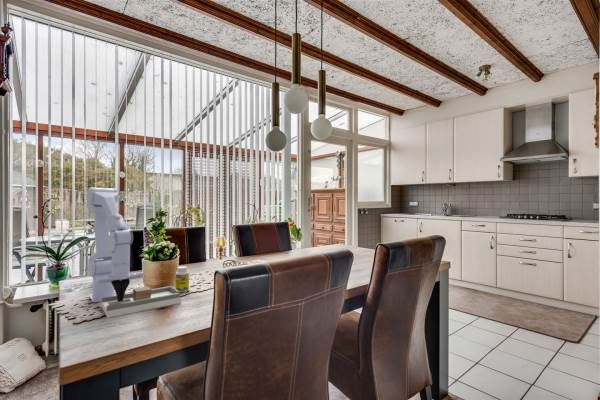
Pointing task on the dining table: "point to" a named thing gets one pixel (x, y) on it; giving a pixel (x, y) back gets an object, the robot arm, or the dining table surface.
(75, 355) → the dining table surface
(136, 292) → the block
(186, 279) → the supplement bottle
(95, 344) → the dining table surface
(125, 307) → the deck
